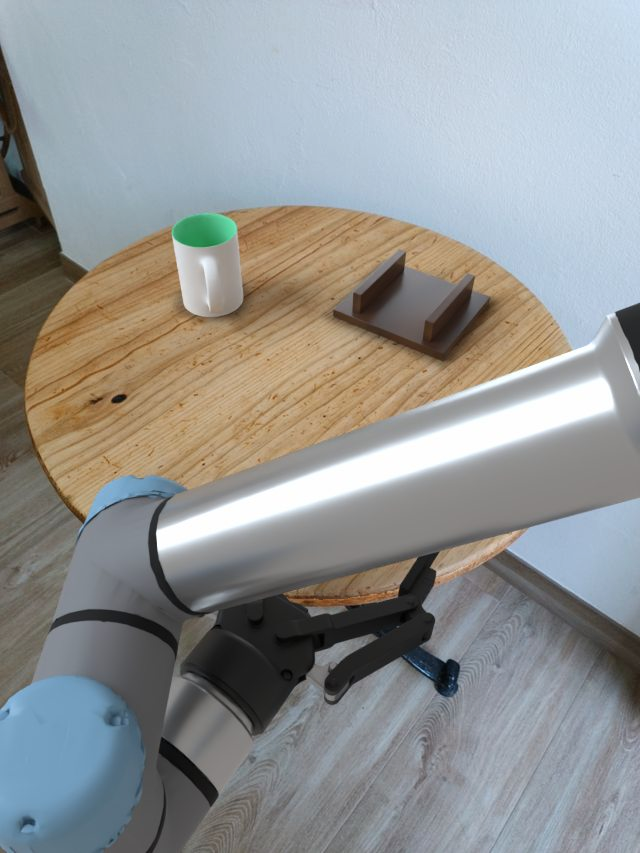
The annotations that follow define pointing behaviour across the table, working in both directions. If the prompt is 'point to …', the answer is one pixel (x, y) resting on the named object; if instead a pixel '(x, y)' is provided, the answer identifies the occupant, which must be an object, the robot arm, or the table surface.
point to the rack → (413, 307)
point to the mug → (208, 264)
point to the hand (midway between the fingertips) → (369, 502)
